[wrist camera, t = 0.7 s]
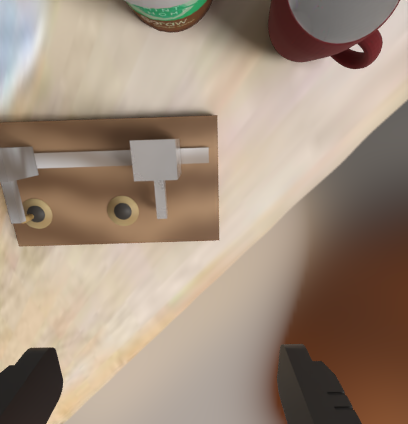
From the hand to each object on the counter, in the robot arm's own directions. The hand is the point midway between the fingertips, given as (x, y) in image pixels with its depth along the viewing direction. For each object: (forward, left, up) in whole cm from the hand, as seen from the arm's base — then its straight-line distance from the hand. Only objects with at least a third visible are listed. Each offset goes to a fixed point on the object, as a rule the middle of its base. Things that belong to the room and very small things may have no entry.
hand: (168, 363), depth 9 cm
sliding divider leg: (-3, -3, -20) cm, 21 cm away
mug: (-17, +12, -23) cm, 31 cm away
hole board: (-3, -9, -23) cm, 24 cm away
